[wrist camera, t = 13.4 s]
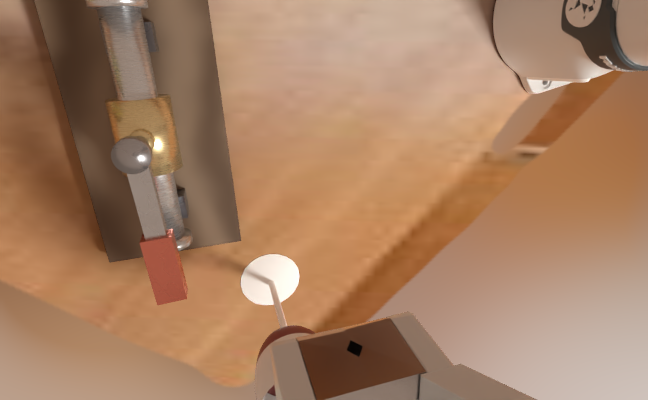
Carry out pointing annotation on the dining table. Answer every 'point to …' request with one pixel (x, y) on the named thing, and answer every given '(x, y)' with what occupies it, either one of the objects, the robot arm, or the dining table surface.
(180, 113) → the walnut board
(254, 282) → the wineglass
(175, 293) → the valve lever
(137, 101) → the pipe valve
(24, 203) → the dining table surface
